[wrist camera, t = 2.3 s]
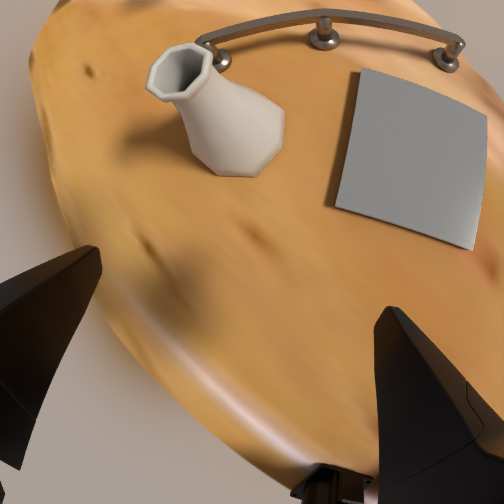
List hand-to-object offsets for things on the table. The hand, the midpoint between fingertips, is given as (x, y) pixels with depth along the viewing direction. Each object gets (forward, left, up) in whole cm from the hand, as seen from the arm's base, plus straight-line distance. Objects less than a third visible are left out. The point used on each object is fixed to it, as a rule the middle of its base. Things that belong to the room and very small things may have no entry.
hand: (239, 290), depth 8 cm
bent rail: (+17, +3, -12) cm, 21 cm away
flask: (+7, +7, -12) cm, 16 cm away
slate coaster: (+11, -6, -12) cm, 17 cm away
